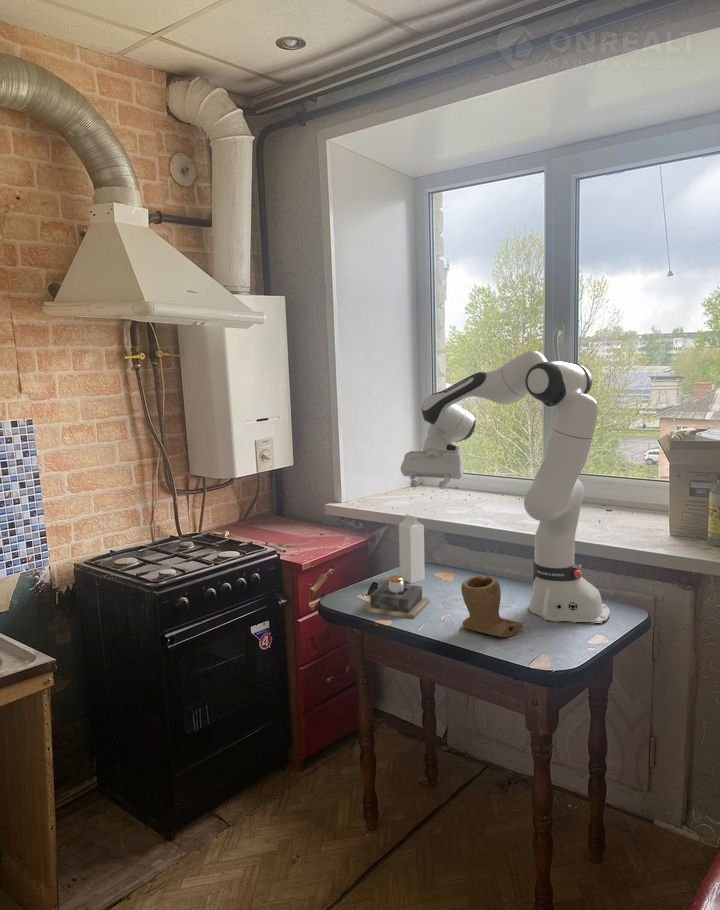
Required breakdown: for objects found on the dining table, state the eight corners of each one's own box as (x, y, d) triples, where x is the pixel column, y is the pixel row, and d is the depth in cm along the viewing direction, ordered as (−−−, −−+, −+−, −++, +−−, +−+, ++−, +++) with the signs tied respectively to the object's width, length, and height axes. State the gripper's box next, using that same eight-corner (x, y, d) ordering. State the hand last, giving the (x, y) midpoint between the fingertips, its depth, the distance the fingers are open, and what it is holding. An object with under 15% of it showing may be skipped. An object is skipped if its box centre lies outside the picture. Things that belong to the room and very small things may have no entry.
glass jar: (406, 601, 206) (405, 576, 205) (401, 606, 202) (400, 580, 201) (392, 600, 208) (391, 574, 206) (387, 604, 204) (386, 579, 202)
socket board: (429, 601, 208) (429, 586, 207) (414, 618, 195) (413, 601, 194) (381, 595, 214) (380, 580, 214) (363, 611, 202) (362, 595, 201)
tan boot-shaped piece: (452, 631, 185) (452, 578, 183) (477, 618, 194) (476, 567, 192) (500, 646, 175) (500, 590, 173) (524, 632, 184) (524, 578, 181)
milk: (411, 583, 225) (409, 518, 221) (399, 579, 230) (398, 515, 226) (425, 579, 228) (423, 515, 225) (413, 575, 233) (412, 512, 230)
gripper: (403, 445, 224) (393, 479, 217) (464, 447, 216) (455, 482, 208) (408, 456, 229) (398, 490, 221) (468, 458, 221) (460, 494, 213)
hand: (427, 487), depth 215 cm, fingers open, 8 cm apart
